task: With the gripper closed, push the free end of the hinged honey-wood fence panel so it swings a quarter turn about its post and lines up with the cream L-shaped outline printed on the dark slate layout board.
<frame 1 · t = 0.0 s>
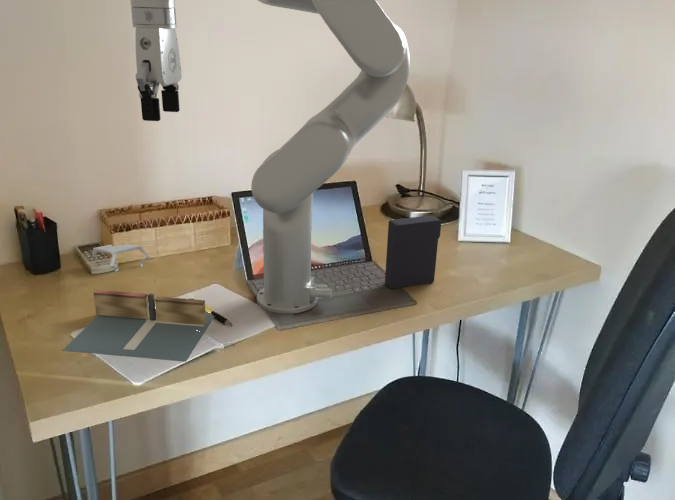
hand: (161, 115, 116), 37 cm above the table, tool pointing down, fingers open, 9 cm apart
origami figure: (122, 268, 141), on the table
dark navy box: (409, 283, 137), on the table
layout card: (144, 331, 114), on the table
fence gate: (121, 304, 117), point 3 cm above the table, hinge at 0.0°
fence fixed: (153, 319, 118), resting on layout card
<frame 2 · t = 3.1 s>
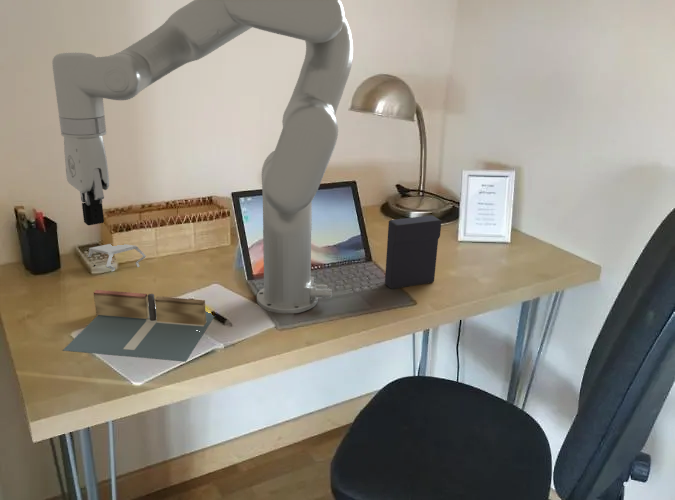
hand: (94, 222, 117), 18 cm above the table, tool pointing down, fingers closed
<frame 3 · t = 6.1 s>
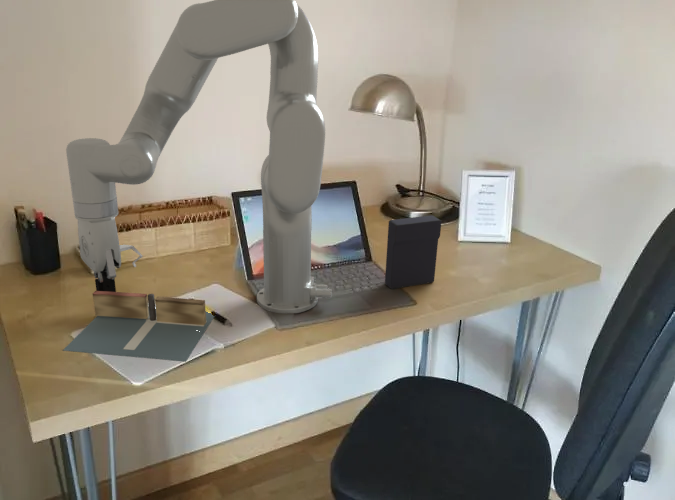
hand: (106, 297, 120), 3 cm above the table, tool pointing down, fingers closed
fence gate: (121, 304, 117), point 3 cm above the table, hinge at 2.1°, touching gripper
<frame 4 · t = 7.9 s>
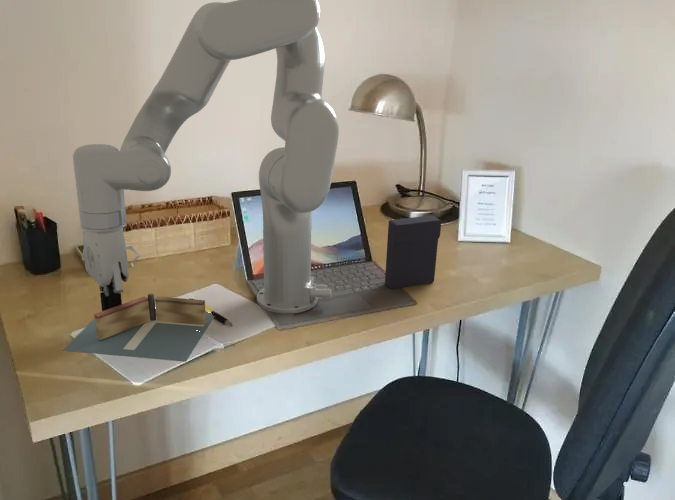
hand: (112, 311, 113), 4 cm above the table, tool pointing down, fingers closed
fence gate: (123, 317, 113), point 3 cm above the table, hinge at 54.7°, touching gripper
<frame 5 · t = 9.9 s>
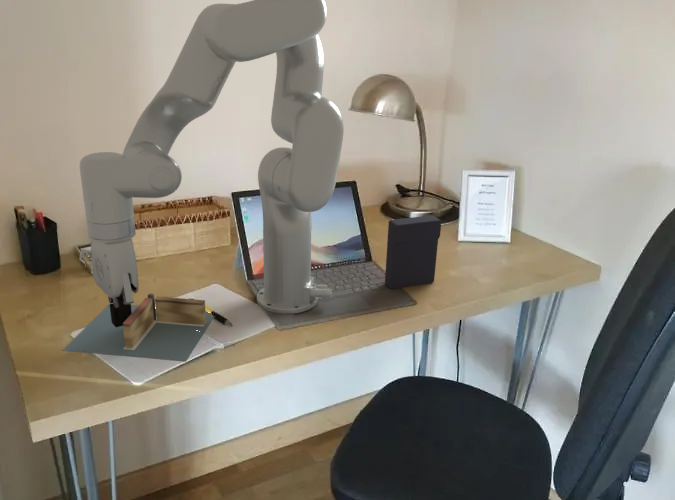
hand: (122, 323, 111), 3 cm above the table, tool pointing down, fingers closed
fence gate: (139, 322, 111), point 3 cm above the table, hinge at 90.3°, touching gripper
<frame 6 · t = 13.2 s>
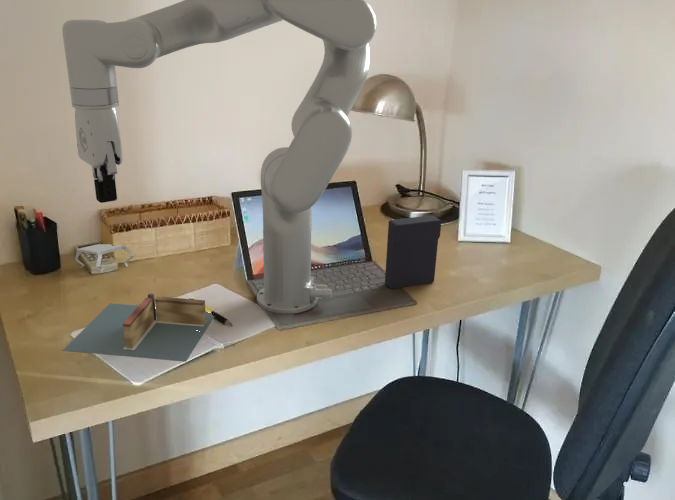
hand: (107, 200, 112), 23 cm above the table, tool pointing down, fingers closed
fence gate: (139, 322, 111), point 3 cm above the table, hinge at 90.4°
at the end: fence gate at +90° (first picture: +0°) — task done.
